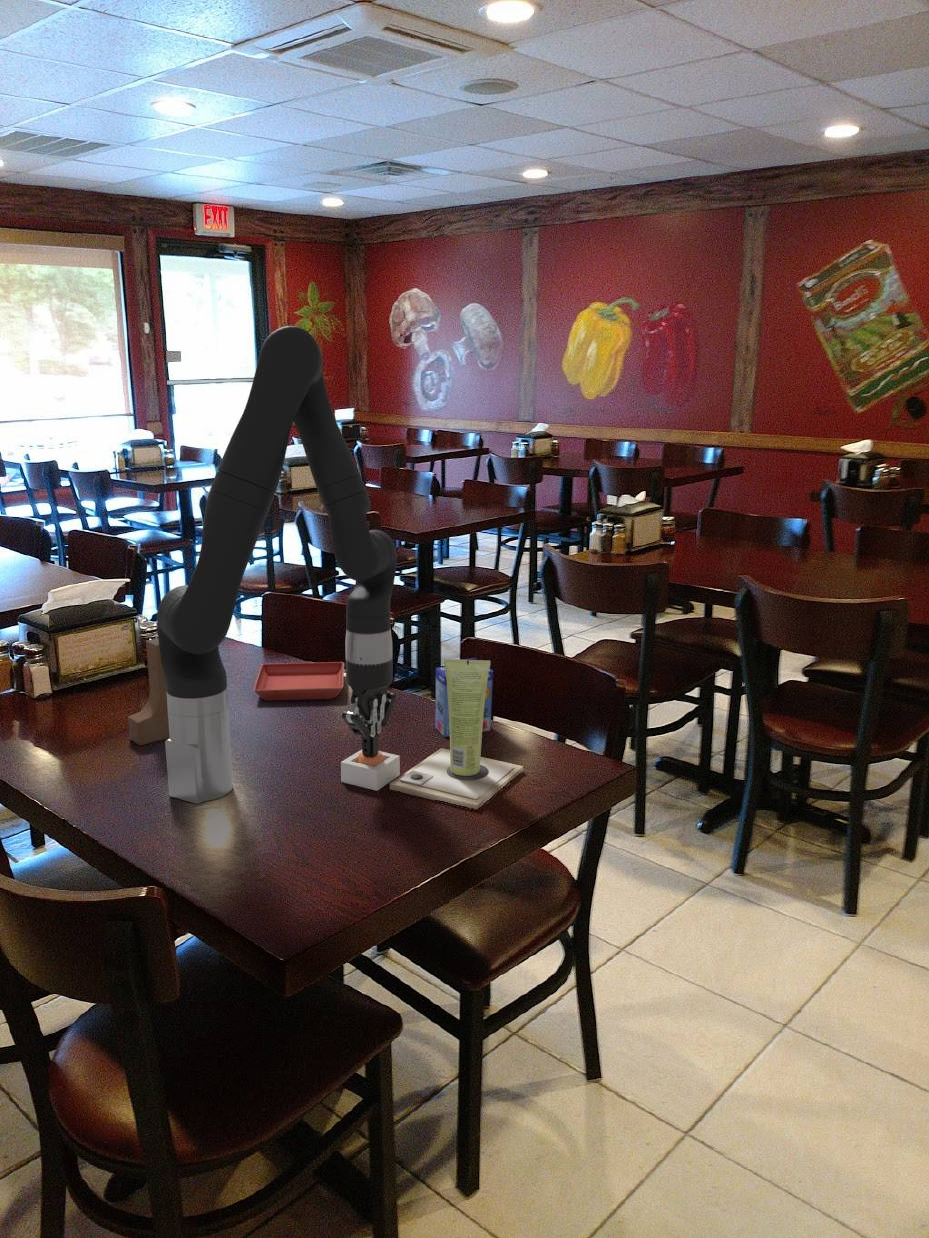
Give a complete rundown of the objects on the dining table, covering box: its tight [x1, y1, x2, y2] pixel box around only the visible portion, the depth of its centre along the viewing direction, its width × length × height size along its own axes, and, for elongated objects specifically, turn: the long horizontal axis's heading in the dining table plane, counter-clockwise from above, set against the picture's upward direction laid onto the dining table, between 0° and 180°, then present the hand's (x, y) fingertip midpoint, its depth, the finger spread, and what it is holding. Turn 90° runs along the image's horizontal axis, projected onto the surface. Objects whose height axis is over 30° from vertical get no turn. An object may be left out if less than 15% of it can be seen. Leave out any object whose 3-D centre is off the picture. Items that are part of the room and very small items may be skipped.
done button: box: [358, 752, 383, 767], centre depth 161 cm, size 4×4×4 cm
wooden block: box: [127, 637, 170, 746], centre depth 176 cm, size 9×4×18 cm, turn 132°
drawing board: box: [389, 747, 524, 809], centre depth 161 cm, size 17×16×2 cm
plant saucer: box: [253, 661, 345, 701], centre depth 205 cm, size 18×18×3 cm
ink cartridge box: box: [434, 657, 494, 738], centre depth 182 cm, size 10×6×14 cm, turn 113°
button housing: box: [340, 749, 401, 791], centre depth 161 cm, size 7×7×4 cm
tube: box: [443, 658, 491, 776], centre depth 159 cm, size 6×5×20 cm
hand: (370, 755), depth 161 cm, fingers closed
